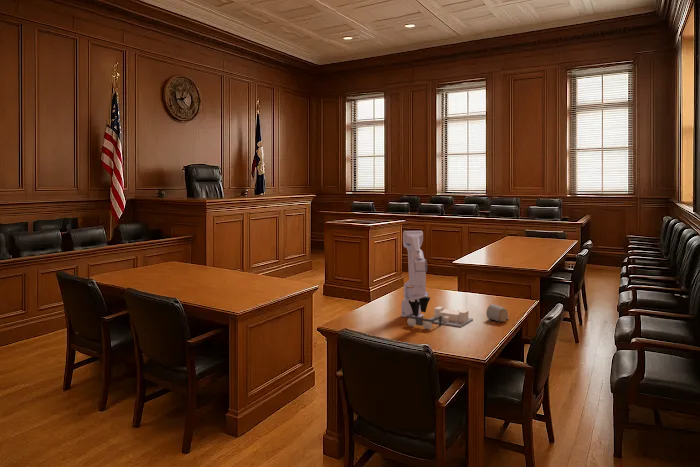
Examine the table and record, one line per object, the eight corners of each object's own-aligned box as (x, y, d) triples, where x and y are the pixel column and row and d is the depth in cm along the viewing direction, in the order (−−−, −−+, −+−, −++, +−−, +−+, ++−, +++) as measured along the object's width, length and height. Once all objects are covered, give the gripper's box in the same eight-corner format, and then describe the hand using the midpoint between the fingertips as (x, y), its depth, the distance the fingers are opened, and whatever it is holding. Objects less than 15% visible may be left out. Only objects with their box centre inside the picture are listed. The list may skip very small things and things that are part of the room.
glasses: (431, 330, 237) (432, 320, 236) (405, 325, 245) (405, 315, 245) (441, 325, 245) (441, 315, 245) (416, 320, 253) (416, 311, 253)
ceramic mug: (499, 323, 247) (500, 308, 246) (485, 320, 253) (486, 305, 252) (512, 320, 253) (513, 305, 253) (498, 316, 260) (499, 302, 259)
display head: (460, 327, 241) (460, 316, 241) (426, 321, 252) (426, 310, 251) (473, 320, 253) (473, 309, 253) (439, 315, 264) (440, 304, 263)
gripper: (419, 289, 231) (419, 318, 233) (434, 283, 243) (434, 311, 244) (406, 287, 235) (406, 316, 237) (421, 282, 247) (421, 309, 249)
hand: (419, 313), depth 241 cm, fingers open, 7 cm apart
